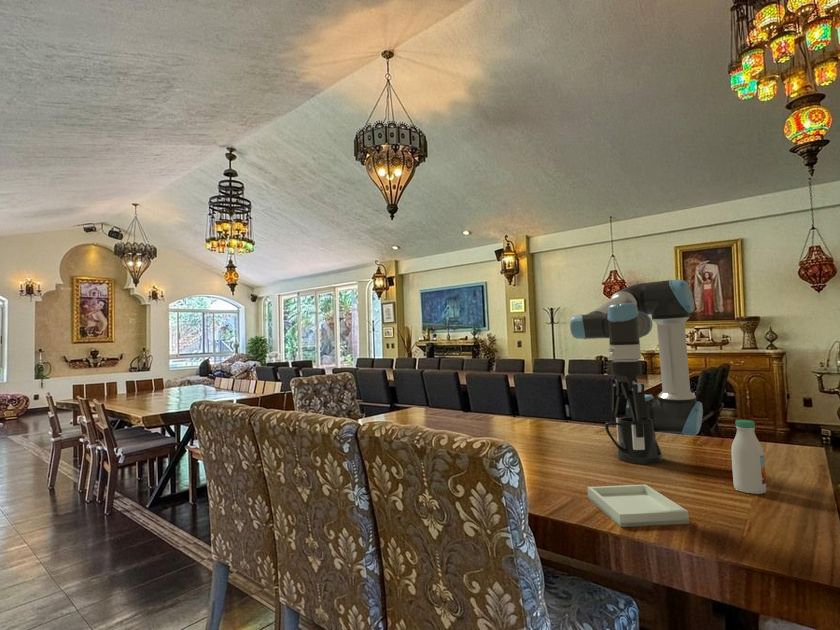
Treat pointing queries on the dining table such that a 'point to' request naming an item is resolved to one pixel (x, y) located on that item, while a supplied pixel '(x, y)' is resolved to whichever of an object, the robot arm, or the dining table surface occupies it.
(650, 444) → the mug
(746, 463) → the milk bottle
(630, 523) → the tray
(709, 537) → the dining table surface
